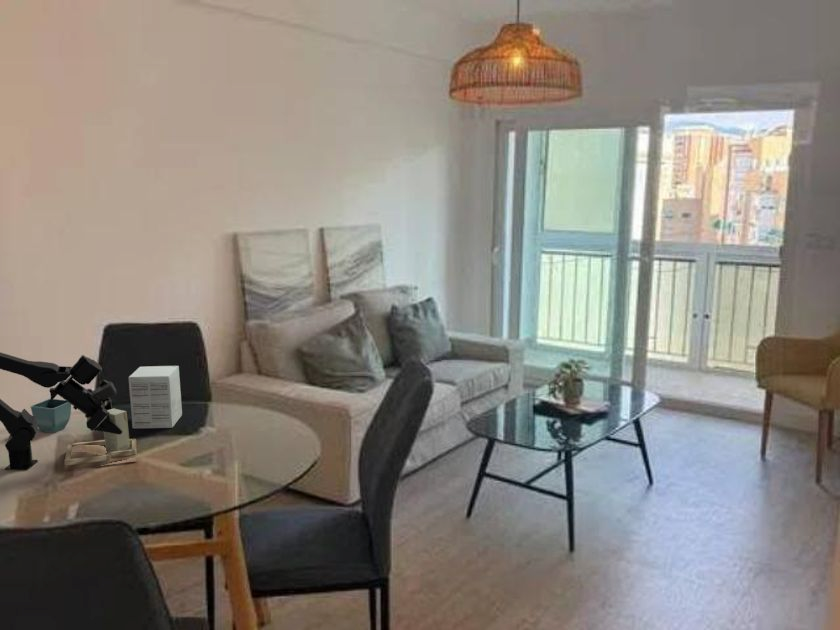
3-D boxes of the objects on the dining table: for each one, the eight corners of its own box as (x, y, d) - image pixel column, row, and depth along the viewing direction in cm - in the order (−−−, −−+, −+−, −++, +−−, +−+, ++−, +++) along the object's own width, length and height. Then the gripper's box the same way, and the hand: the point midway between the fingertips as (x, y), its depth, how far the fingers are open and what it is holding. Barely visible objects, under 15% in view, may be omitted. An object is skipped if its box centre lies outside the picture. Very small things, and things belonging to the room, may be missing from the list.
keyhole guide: (64, 470, 220) (64, 462, 219) (69, 451, 235) (69, 442, 234) (136, 462, 226) (136, 453, 225) (137, 443, 241) (136, 435, 240)
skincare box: (131, 450, 232) (127, 411, 229) (118, 455, 228) (115, 415, 225) (117, 446, 235) (113, 407, 232) (104, 451, 231) (100, 411, 229)
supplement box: (143, 415, 266) (139, 366, 263) (182, 414, 267) (179, 365, 264) (131, 429, 253) (127, 377, 250) (172, 428, 254) (169, 376, 251)
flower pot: (74, 426, 256) (72, 400, 254) (55, 435, 248) (52, 408, 246) (52, 424, 258) (49, 398, 256) (32, 433, 250) (29, 406, 248)
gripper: (95, 383, 217) (140, 417, 223) (99, 366, 234) (140, 398, 240) (67, 413, 216) (113, 446, 222) (72, 394, 233) (115, 425, 239)
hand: (121, 428), depth 231 cm, fingers open, 9 cm apart
